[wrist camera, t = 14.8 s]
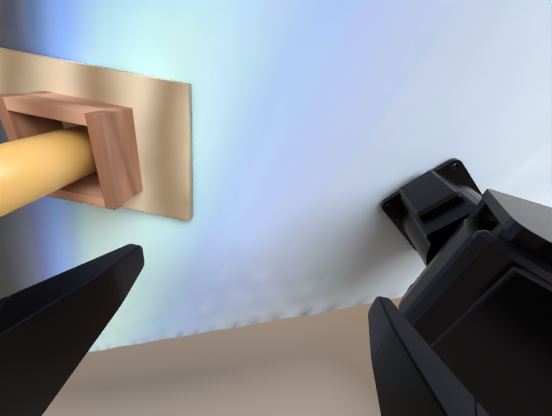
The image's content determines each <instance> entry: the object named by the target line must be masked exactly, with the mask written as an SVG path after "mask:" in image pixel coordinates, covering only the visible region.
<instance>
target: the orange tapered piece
mask: <svg viewBox="0 0 552 416" xmlns="http://www.w3.org/2000/svg"><path fill="white" fill-rule="evenodd" d="M96 171H97V168H96V164H95V159H94V155H93V150H92V146H91V141H90V137H89V132H88V128H87V126H85V125H77V126H73V127H69V128H65V129H61V130H56V131H52V132H48V133H44V134H40V135H36V136H31V137H27V138H23V139H19V140H15V141H11V142H6V143H2V144H0V217H1V216H3V215H5V214H8V213H10V212H12V211H14V210H16V209H18V208H20V207H22V206H24V205H26V204H29V203H31V202H33V201H35V200H37V199H39V198H41V197H43V196H45V195H47V194H50V193H52V192H54V191H56V190H58V189H60V188H62V187H64V186H66V185H68V184H71V183H73V182H75V181H77V180H79V179H81V178H83V177H85V176H87V175H90V174H92V173H94V172H96Z"/></svg>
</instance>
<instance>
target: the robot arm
mask: <svg viewBox="0 0 552 416" xmlns="http://www.w3.org/2000/svg"><path fill="white" fill-rule="evenodd" d="M454 163H456V166H455V167H453V168H451V166H452V165H453V164H454ZM386 204H390V205H389V206H388V207H385V205H386ZM381 207H382V209H383V210H384V212H385V213H386V214H387V215H388V217H389V218H390V219H391V220H392V222H393V223H394V224H395V225H396V227H397V228H398V229H399V230H400V231H401V233H402V234H403V235H404V236H405V238H406V239H407V240H408V241H409V243H410V244H411V245H412V246H413V248H414V249H415V250H416V251H417V252H418V253H419V255H420V257H421V258H422V260H423V262H424V264H425V265H426V268H425V269H424V271H423V272H422V273H421V274H420V276H419V277H418V278H417V279H416V281H415V282H414V283H413V284H411V285H410V287H409V288H408V290H407V292H406V293H405V294H404V296H403V297H402V299H401V301H400V304H399V309H397V307H396V306H395V305H394V304H393V302H392V301H391V300H390V299H388V298H385V297H380V296H378V297H376V299H375V300H374V302H373V304H372V306H371V308H370V309H369V313H368V320H369V334H370V348H371V360H372V366H373V372H374V378H375V383H376V389H377V395H378V400H379V406H380V412H381V416H552V208H551V207H547V206H544V205H541V204H538V203H534V202H531V201H528V200H524V199H521V198H518V197H514V196H511V195H508V194H504V193H501V192H498V191H494V190H491V189H487V190H486V191H485V192H484V194H483V195H482V194H481V192H480V191H479V189H478V187H477V186H476V184H475V182H474V181H473V179H472V178H471V176H470V174H469V173H468V171H467V170H466V168H465V166H464V165H463V163H462V162H461V161H460V160H458V159H456V158H453V159H450V160H448V161H447V162H445V163H443V164H442V165H440V166H438V167H437V168H435V169H434V170H432V171H428V172H426V173H425V174H423V175H421V176H420V177H418V178H417V179H415V180H413V181H412V182H410V183H408V184H407V185H405V186H404V187H402V188H401V189H400V190H399V191H398V192H396V193H395V194H393V195H391V196H390V197H388V198H386V199H385V200H383V201H382V203H381ZM143 266H144V256H143V249H142V247H141V246H140V245H135V244H128V245H126V246H123V247H121V248H119V249H116V250H114V251H112V252H109V253H107V254H105V255H102V256H100V257H98V258H95V259H93V260H91V261H88V262H86V263H84V264H81V265H79V266H77V267H74V268H72V269H70V270H67V271H65V272H63V273H60V274H58V275H56V276H53V277H51V278H49V279H46V280H44V281H42V282H39V283H37V284H35V285H32V286H30V287H28V288H25V289H23V290H21V291H18V292H16V293H14V294H11V295H10V296H9V297H4V298H2V299H0V416H42V414H43V413H44V412H45V410H46V409H47V408H48V406H49V405H50V403H51V402H52V401H53V399H54V398H55V396H56V395H57V394H58V392H59V391H60V389H61V388H62V387H63V385H64V384H65V383H66V381H67V380H68V378H69V377H70V376H71V374H72V373H73V371H74V370H75V369H76V367H77V366H78V364H79V363H80V362H81V360H82V359H83V358H84V356H85V355H86V353H87V352H88V351H89V349H90V348H91V346H92V345H93V344H94V342H95V341H96V339H97V338H98V337H99V335H100V334H101V332H102V331H103V330H104V328H105V327H106V326H107V324H108V323H109V321H110V320H111V319H112V317H113V316H114V314H115V313H116V312H117V310H118V309H119V307H120V306H121V304H122V303H123V301H124V300H125V298H126V296H127V295H128V293H129V291H130V289H131V288H132V286H133V284H134V282H135V281H136V279H137V277H138V275H139V274H140V272H141V270H142V269H143Z"/></svg>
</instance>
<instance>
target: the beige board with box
mask: <svg viewBox="0 0 552 416" xmlns="http://www.w3.org/2000/svg"><path fill="white" fill-rule="evenodd" d="M0 119H1V122H2V124H3V127H4V129H5V132H6V134H7V137H8V139H9V142H11V141H15V140H19V139H23V138H27V137H31V136H36V135H40V134H44V133H48V132H52V131H56V130H61V129H65V128H69V127H73V126H77V125H85V126H87V128H88V132H89V137H90V141H91V146H92V150H93V155H94V159H95V164H96V168H97V171H96V172H94V173H92V174H90V175H87V176H85V177H83V178H81V179H79V180H77V181H75V182H73V183H71V184H68V185H66V186H64V187H62V188H60V189H58V190H56V191H54V192H52V193H50V194H47V196H51V197H56V198H61V199H66V200H70V201H75V202H80V203H85V204H89V205H94V206H99V207H104V208H108V209H113V210H116V209H117V208H118V207H124V208H129V209H134V210H138V211H143V212H148V213H153V214H157V215H162V216H167V217H172V218H177V219H181V220H186V221H190V220H191V219H192V217H193V188H192V114H191V84H188V83H183V82H178V81H172V80H167V79H162V78H157V77H152V76H146V75H141V74H136V73H131V72H126V71H120V70H115V69H110V68H105V67H100V66H94V65H89V64H84V63H79V62H74V61H68V60H63V59H58V58H53V57H48V56H42V55H37V54H32V53H27V52H22V51H16V50H11V49H6V48H1V47H0Z"/></svg>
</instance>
